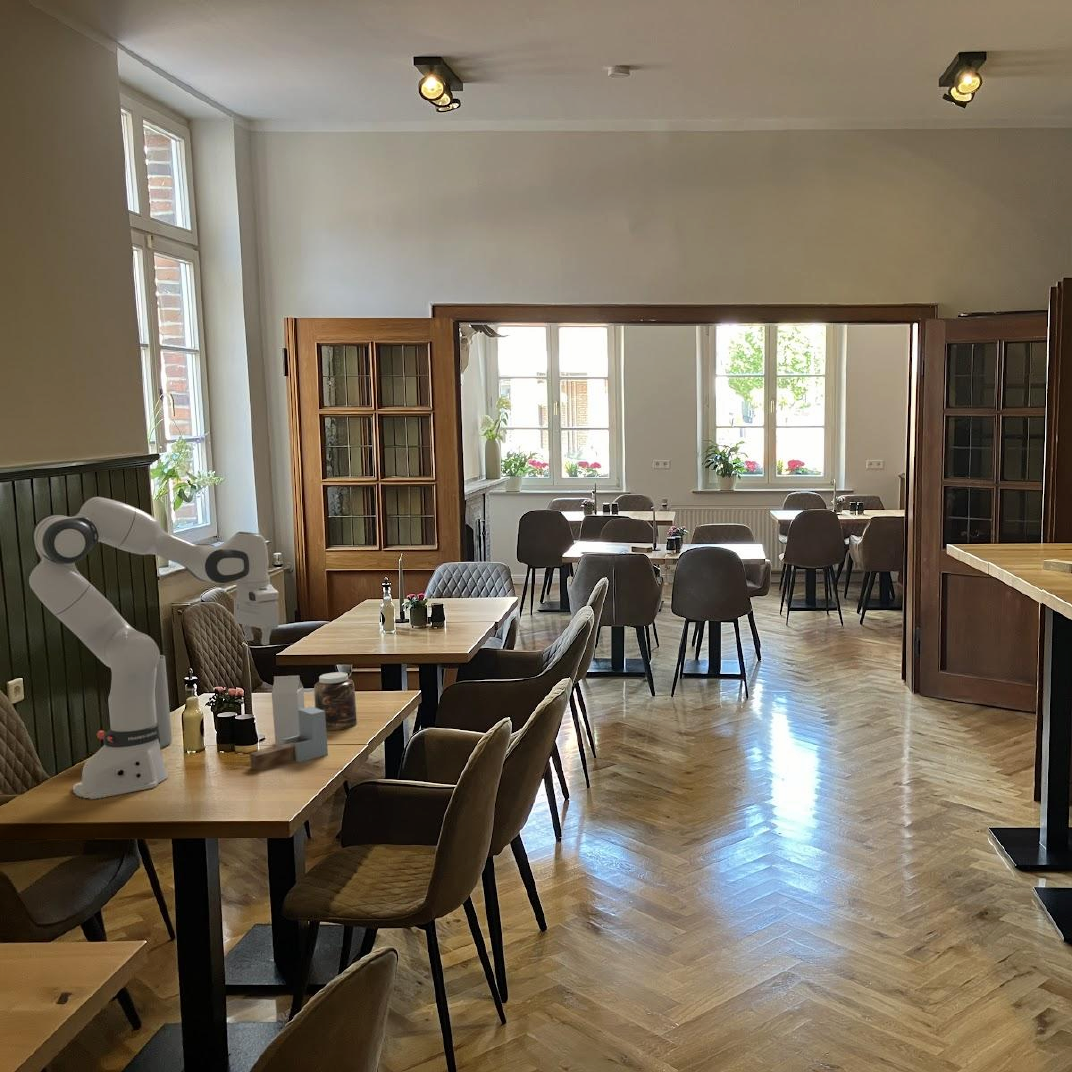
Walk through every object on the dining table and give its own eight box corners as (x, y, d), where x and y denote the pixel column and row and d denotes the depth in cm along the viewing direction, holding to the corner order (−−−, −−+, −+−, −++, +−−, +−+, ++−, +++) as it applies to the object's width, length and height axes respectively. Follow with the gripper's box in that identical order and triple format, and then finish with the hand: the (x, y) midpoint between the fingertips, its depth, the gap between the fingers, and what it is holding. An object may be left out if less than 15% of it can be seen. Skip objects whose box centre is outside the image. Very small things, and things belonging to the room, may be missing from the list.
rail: (257, 770, 276) (256, 752, 275) (251, 768, 278) (249, 749, 278) (308, 757, 285) (306, 739, 285) (301, 755, 288) (300, 736, 287)
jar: (322, 720, 323) (318, 671, 321) (360, 719, 322) (357, 670, 321) (312, 731, 311) (308, 680, 309) (352, 730, 310) (348, 679, 309)
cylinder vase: (123, 744, 307) (115, 658, 305) (168, 736, 313) (161, 652, 310) (128, 754, 296) (120, 666, 294) (175, 746, 302) (168, 659, 299)
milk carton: (300, 745, 297) (296, 678, 295) (275, 746, 297) (270, 679, 295) (306, 738, 304) (302, 672, 302) (282, 739, 304) (277, 673, 302)
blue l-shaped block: (297, 762, 281) (294, 718, 280) (284, 757, 287) (281, 713, 285) (327, 754, 287) (324, 711, 286) (314, 749, 292) (311, 706, 291)
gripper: (226, 590, 292) (229, 639, 294) (259, 596, 277) (263, 649, 278) (247, 587, 296) (251, 636, 298) (281, 593, 281) (285, 645, 282)
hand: (257, 642), depth 288 cm, fingers open, 8 cm apart
